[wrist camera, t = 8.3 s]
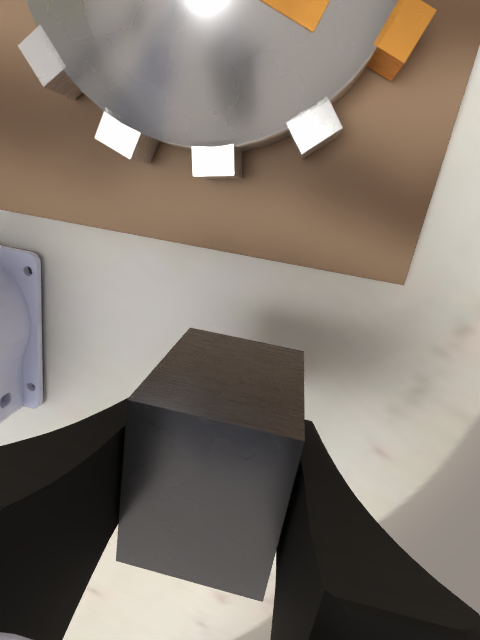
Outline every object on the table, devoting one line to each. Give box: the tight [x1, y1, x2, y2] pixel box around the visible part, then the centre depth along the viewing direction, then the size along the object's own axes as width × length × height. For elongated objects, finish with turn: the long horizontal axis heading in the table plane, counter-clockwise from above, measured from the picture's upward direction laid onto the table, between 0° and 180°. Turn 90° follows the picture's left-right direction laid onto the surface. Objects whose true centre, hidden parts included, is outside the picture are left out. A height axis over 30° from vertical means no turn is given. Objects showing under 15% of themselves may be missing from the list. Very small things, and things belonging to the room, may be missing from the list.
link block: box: [116, 328, 305, 602], centre depth 11 cm, size 5×4×5 cm
